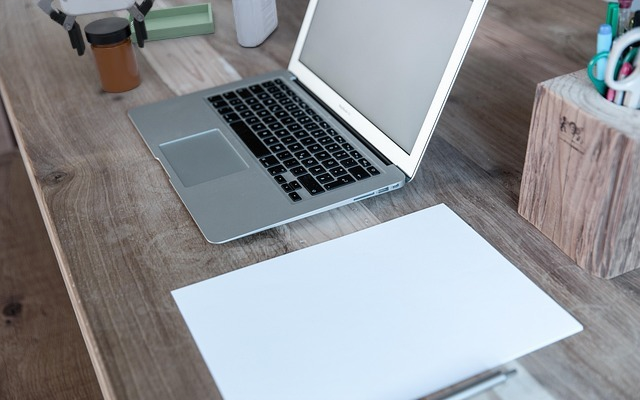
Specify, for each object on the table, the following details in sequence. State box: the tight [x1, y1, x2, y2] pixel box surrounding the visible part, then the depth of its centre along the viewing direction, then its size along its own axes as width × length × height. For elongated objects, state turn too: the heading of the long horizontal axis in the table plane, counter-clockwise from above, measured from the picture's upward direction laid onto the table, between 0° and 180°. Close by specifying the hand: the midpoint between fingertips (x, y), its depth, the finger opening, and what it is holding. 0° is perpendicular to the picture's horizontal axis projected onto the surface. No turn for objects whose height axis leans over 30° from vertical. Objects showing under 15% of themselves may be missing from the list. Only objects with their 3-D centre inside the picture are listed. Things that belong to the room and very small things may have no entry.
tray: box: [125, 2, 215, 44], centre depth 125 cm, size 15×10×2 cm
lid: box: [83, 16, 132, 45], centre depth 103 cm, size 6×6×2 cm
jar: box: [89, 36, 142, 94], centre depth 105 cm, size 6×6×8 cm
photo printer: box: [231, 0, 279, 48], centre depth 116 cm, size 10×4×12 cm, turn 162°
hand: (112, 48), depth 105 cm, fingers open, 8 cm apart
